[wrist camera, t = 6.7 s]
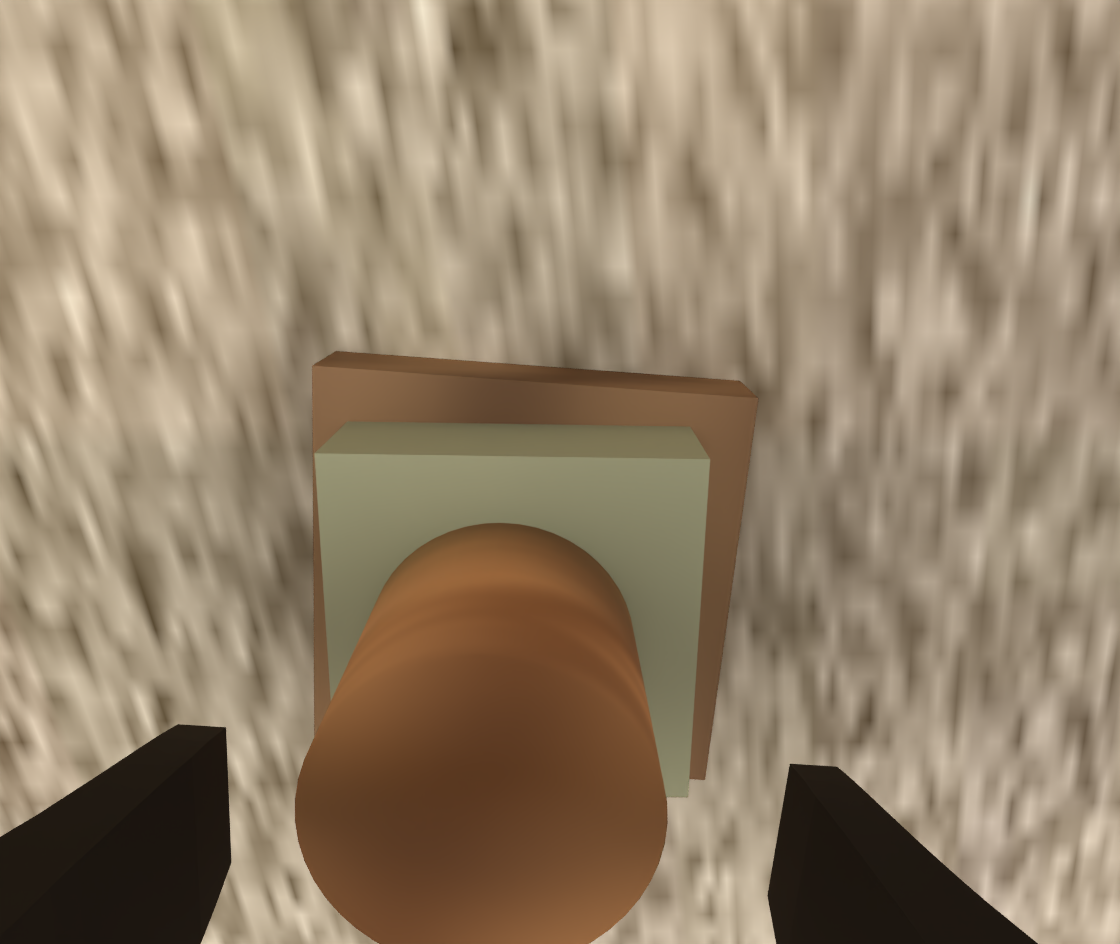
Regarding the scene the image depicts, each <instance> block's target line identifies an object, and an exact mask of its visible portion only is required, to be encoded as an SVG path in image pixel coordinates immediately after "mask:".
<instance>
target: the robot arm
mask: <svg viewBox="0 0 1120 944" xmlns="http://www.w3.org/2000/svg"><path fill="white" fill-rule="evenodd" d="M230 865H231V843H230V818H229V793H228V768H227V743H226V727H210V726H195V725H179V724H178V725H176V726H174V727H173V728H171V729H169V730H167V731H166V732H164V733H162V734H161V735H159V736H157V737H156V738H154V739H153V740H151V741H150V742H148V743H147V744H145V745H143V746H142V747H140V748H139V749H137V750H136V751H134V752H133V753H131V754H130V755H128V756H127V757H125V758H124V759H122V760H121V761H119V762H118V763H116V764H115V765H113V766H112V767H110V768H109V769H107V770H106V771H104V772H103V773H101V774H100V775H98V776H97V777H95V778H93V779H92V780H90V781H89V782H87V783H86V784H84V785H83V786H81V787H80V788H78V789H76V790H75V791H73V792H72V793H70V794H69V795H67V796H66V797H64V798H63V799H61V800H59V801H58V802H56V803H55V804H53V805H52V806H50V807H49V808H47V809H46V810H44V811H42V812H41V813H39V814H38V815H36V816H35V817H33V818H31V819H30V820H28V821H26V822H24V823H23V824H21V825H19V826H18V827H16V828H14V829H13V830H11V831H9V832H8V833H6V834H4V835H3V836H1V837H0V944H200V943H201V941H202V939H203V936H204V934H205V931H206V929H207V926H208V924H209V921H210V919H211V916H212V913H213V911H214V908H215V906H216V903H217V900H218V898H219V895H220V892H221V889H222V887H223V884H224V881H225V878H226V876H227V873H228V870H229V867H230ZM768 900H769V906H770V911H771V917H772V922H773V928H774V933H775V939H776V944H1038V943H1036V942H1035V941H1034V940H1033V939H1031V938H1030V937H1029V936H1028V935H1026V934H1025V933H1024V932H1023V931H1022V930H1020V929H1019V928H1018V927H1017V926H1015V925H1014V924H1013V923H1012V922H1011V921H1009V920H1008V919H1007V918H1006V917H1004V916H1003V915H1002V914H1001V913H999V912H998V911H997V910H996V909H995V908H993V907H992V906H991V905H990V904H988V903H987V902H986V901H985V900H984V899H983V898H981V897H980V896H979V895H978V894H977V893H976V892H974V891H973V890H972V889H971V888H970V887H969V886H967V885H966V884H965V883H964V882H963V881H962V880H961V879H959V878H958V877H957V876H956V875H955V874H954V873H953V872H952V871H950V870H949V869H948V868H947V867H946V866H945V865H944V864H943V863H941V862H940V861H939V860H938V859H937V858H936V857H935V856H934V855H933V854H932V853H930V852H929V851H928V850H927V849H926V848H925V847H924V846H923V845H922V844H921V843H920V842H918V841H917V840H916V839H915V838H914V837H913V836H912V835H911V834H910V833H909V832H908V831H907V830H906V829H904V828H903V827H902V826H901V825H900V824H899V823H898V822H897V821H896V820H895V819H894V818H893V817H892V816H891V815H890V814H888V813H887V812H886V811H885V810H884V809H883V808H882V807H881V806H880V805H879V804H878V803H877V802H876V801H875V800H874V799H872V798H871V797H870V796H869V795H868V794H867V793H866V792H865V791H864V790H863V789H862V788H861V787H860V786H859V785H857V784H856V783H855V782H854V781H853V780H852V779H851V778H850V777H849V776H847V775H846V774H845V773H844V772H843V771H842V770H840V769H839V768H838V767H832V766H816V765H801V764H790V766H789V772H788V778H787V784H786V790H785V796H784V802H783V808H782V814H781V819H780V825H779V831H778V837H777V843H776V849H775V855H774V861H773V866H772V872H771V878H770V884H769V890H768Z"/></svg>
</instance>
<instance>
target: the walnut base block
mask: <svg viewBox="0 0 1120 944" xmlns="http://www.w3.org/2000/svg"><path fill="white" fill-rule="evenodd" d="M312 396H313V566H314V736H315V735H316V733H317V731H318V728H319V726H320V724H321V722H322V720H323V717H324V715H325V713H326V711H327V709H328V706H329V704H330V702H331V697H330V682H329V666H328V651H327V636H326V621H325V606H324V591H323V575H322V560H321V545H320V530H319V515H318V500H317V484H316V469H315V454H314V453H315V452H316V451H317V450H318V449H320V448H321V447H322V446H323V445H324V444H325V443H326V442H327V441H328V440H329V439H330V438H331V437H332V436H333V435H334V434H335V433H336V432H337V431H338V430H339V429H340V428H341V427H342V426H343V425H344V424H345V423H346V422H347V421H349V422H415V423H481V424H548V425H614V426H681V427H691V429H692V430H693V432H694V434H695V435H696V437H697V438H698V440H699V442H700V443H701V445H702V447H703V448H704V450H705V452H706V453H707V455H708V457H709V458H710V470H709V485H708V500H707V515H706V530H705V546H704V561H703V576H702V591H701V607H700V622H699V637H698V652H697V668H696V683H695V698H694V713H693V728H692V744H691V759H690V774H689V779H699V780H705V775H706V768H707V761H708V754H709V747H710V740H711V733H712V726H713V718H714V711H715V704H716V697H717V690H718V683H719V676H720V669H721V661H722V654H723V647H724V640H725V633H726V626H727V619H728V612H729V604H730V597H731V590H732V583H733V576H734V569H735V562H736V554H737V547H738V540H739V533H740V526H741V519H742V512H743V505H744V497H745V490H746V483H747V476H748V469H749V462H750V455H751V448H752V440H753V433H754V426H755V419H756V412H757V405H758V398H757V397H756V396H755V395H754V394H753V393H752V392H751V391H750V390H749V389H748V388H747V387H746V386H745V385H744V384H743V383H742V382H740V381H734V380H721V379H707V378H693V377H680V376H666V375H653V374H639V373H625V372H612V371H598V370H585V369H571V368H557V367H544V366H530V365H516V364H503V363H489V362H476V361H462V360H448V359H435V358H421V357H408V356H394V355H380V354H367V353H353V352H339V351H335V352H334V353H332V354H331V355H329V356H327V357H326V358H324V359H322V360H321V361H319V362H318V363H316V364H314V365H313V366H312Z"/></svg>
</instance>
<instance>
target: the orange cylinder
mask: <svg viewBox="0 0 1120 944" xmlns="http://www.w3.org/2000/svg"><path fill="white" fill-rule="evenodd" d="M295 823H296V829H297V836H298V842H299V845H300V848H301V851H302V854H303V857H304V861H305V863H306V865H307V867H308V869H309V871H310V873H311V875H312V877H313V879H314V881H315V883H316V884H317V886H318V887H319V889H320V890H321V892H322V893H323V895H324V896H325V897H326V899H327V900H328V901H329V902H330V903H331V904H332V906H333V907H334V908H335V909H336V910H337V911H338V912H339V913H340V914H341V915H342V916H343V917H344V918H345V919H346V920H347V921H348V922H350V923H351V924H352V925H353V926H354V927H355V928H356V929H358V930H359V931H361V932H362V933H364V934H365V935H367V936H368V937H369V938H371V939H372V940H374V941H375V942H377V943H379V944H589V943H591V942H592V941H594V940H595V939H597V938H598V937H599V936H601V935H602V934H604V933H605V932H607V931H608V930H609V929H611V928H612V927H613V926H614V925H615V924H616V923H617V922H618V921H619V920H621V919H622V918H623V917H624V916H625V915H626V914H627V913H628V912H629V910H630V909H631V908H632V907H633V906H634V905H635V903H636V902H637V901H638V900H639V899H640V897H641V895H642V894H643V892H644V891H645V889H646V888H647V886H648V885H649V883H650V881H651V879H652V877H653V875H654V873H655V871H656V868H657V866H658V864H659V861H660V858H661V854H662V851H663V848H664V844H665V837H666V830H667V799H666V794H665V788H664V782H663V777H662V772H661V767H660V762H659V757H658V752H657V747H656V742H655V737H654V732H653V727H652V722H651V717H650V712H649V707H648V702H647V697H646V692H645V687H644V681H643V676H642V671H641V666H640V661H639V656H638V651H637V646H636V641H635V636H634V631H633V626H632V621H631V617H630V614H629V611H628V608H627V605H626V602H625V600H624V598H623V596H622V594H621V592H620V590H619V588H618V587H617V585H616V584H615V582H614V581H613V579H612V578H611V576H610V575H609V574H608V572H607V571H606V570H605V569H604V568H603V567H602V566H601V565H600V564H599V562H598V561H596V560H595V559H594V558H593V557H592V556H590V555H589V554H588V553H587V552H586V551H585V550H583V549H581V548H580V547H578V546H577V545H575V544H574V543H572V542H571V541H569V540H567V539H565V538H563V537H561V536H558V535H556V534H554V533H551V532H548V531H545V530H542V529H539V528H536V527H531V526H526V525H521V524H511V523H485V524H478V525H472V526H467V527H463V528H460V529H456V530H453V531H450V532H447V533H445V534H443V535H441V536H438V537H436V538H434V539H432V540H430V541H429V542H427V543H426V544H424V545H422V546H421V547H419V548H418V549H416V550H415V551H414V552H413V553H412V554H410V555H409V556H408V557H407V558H406V559H405V560H404V561H403V562H402V563H401V564H400V565H399V566H398V567H397V568H396V569H395V570H394V572H393V573H392V574H391V576H390V577H389V579H388V580H387V582H386V583H385V585H384V587H383V589H382V591H381V593H380V595H379V597H378V599H377V601H376V603H375V605H374V608H373V610H372V612H371V614H370V616H369V619H368V621H367V623H366V625H365V627H364V630H363V632H362V634H361V636H360V638H359V641H358V643H357V645H356V647H355V649H354V652H353V654H352V656H351V658H350V660H349V662H348V665H347V667H346V669H345V671H344V673H343V676H342V678H341V680H340V682H339V684H338V687H337V689H336V691H335V693H334V695H333V698H332V700H331V702H330V704H329V706H328V709H327V711H326V713H325V715H324V717H323V720H322V722H321V724H320V726H319V728H318V731H317V733H316V735H315V737H314V739H313V742H312V744H311V746H310V748H309V750H308V753H307V755H306V757H305V759H304V762H303V766H302V769H301V772H300V775H299V778H298V784H297V790H296V797H295Z"/></svg>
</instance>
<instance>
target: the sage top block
mask: <svg viewBox="0 0 1120 944" xmlns="http://www.w3.org/2000/svg"><path fill="white" fill-rule="evenodd" d="M314 454H315V469H316V484H317V500H318V515H319V530H320V545H321V560H322V575H323V591H324V606H325V621H326V636H327V651H328V666H329V682H330V697H331V700H332V698H333V695H334V693H335V691H336V689H337V687H338V684H339V682H340V680H341V678H342V676H343V673H344V671H345V669H346V667H347V665H348V662H349V660H350V658H351V656H352V654H353V652H354V649H355V647H356V645H357V643H358V641H359V638H360V636H361V634H362V632H363V630H364V627H365V625H366V623H367V621H368V619H369V616H370V614H371V612H372V610H373V608H374V605H375V603H376V601H377V599H378V597H379V595H380V593H381V591H382V589H383V587H384V585H385V583H386V582H387V580H388V579H389V577H390V576H391V574H392V573H393V572H394V570H395V569H396V568H397V567H398V566H399V565H400V564H401V563H402V562H403V561H404V560H405V559H406V558H407V557H408V556H409V555H410V554H412V553H413V552H414V551H415V550H416V549H418V548H419V547H421V546H422V545H424V544H426V543H427V542H429V541H430V540H432V539H434V538H436V537H438V536H441V535H443V534H445V533H447V532H450V531H453V530H456V529H460V528H463V527H467V526H472V525H478V524H485V523H511V524H521V525H526V526H531V527H536V528H539V529H542V530H545V531H548V532H551V533H554V534H556V535H558V536H561V537H563V538H565V539H567V540H569V541H571V542H572V543H574V544H575V545H577V546H578V547H580V548H581V549H583V550H585V551H586V552H587V553H588V554H589V555H590V556H592V557H593V558H594V559H595V560H596V561H598V562H599V564H600V565H601V566H602V567H603V568H604V569H605V570H606V571H607V572H608V574H609V575H610V576H611V578H612V579H613V581H614V582H615V584H616V585H617V587H618V588H619V590H620V592H621V594H622V596H623V598H624V600H625V602H626V605H627V608H628V611H629V614H630V617H631V621H632V626H633V631H634V636H635V641H636V646H637V651H638V656H639V661H640V666H641V671H642V676H643V681H644V687H645V692H646V697H647V702H648V707H649V712H650V717H651V722H652V727H653V732H654V737H655V742H656V747H657V752H658V757H659V762H660V767H661V772H662V777H663V782H664V788H665V794H666V797H688V789H689V774H690V759H691V744H692V728H693V713H694V698H695V683H696V668H697V652H698V637H699V622H700V607H701V591H702V576H703V561H704V546H705V530H706V515H707V500H708V485H709V470H710V458H709V457H708V455H707V453H706V452H705V450H704V448H703V447H702V445H701V443H700V442H699V440H698V438H697V437H696V435H695V434H694V432H693V430H692V429H691V427H681V426H614V425H548V424H481V423H415V422H349V421H347V422H346V423H345V424H344V425H343V426H342V427H341V428H340V429H339V430H338V431H337V432H336V433H335V434H334V435H333V436H332V437H331V438H330V439H329V440H328V441H327V442H326V443H325V444H324V445H323V446H322V447H321V448H320V449H318V450H317V451H316V452H315V453H314Z"/></svg>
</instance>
